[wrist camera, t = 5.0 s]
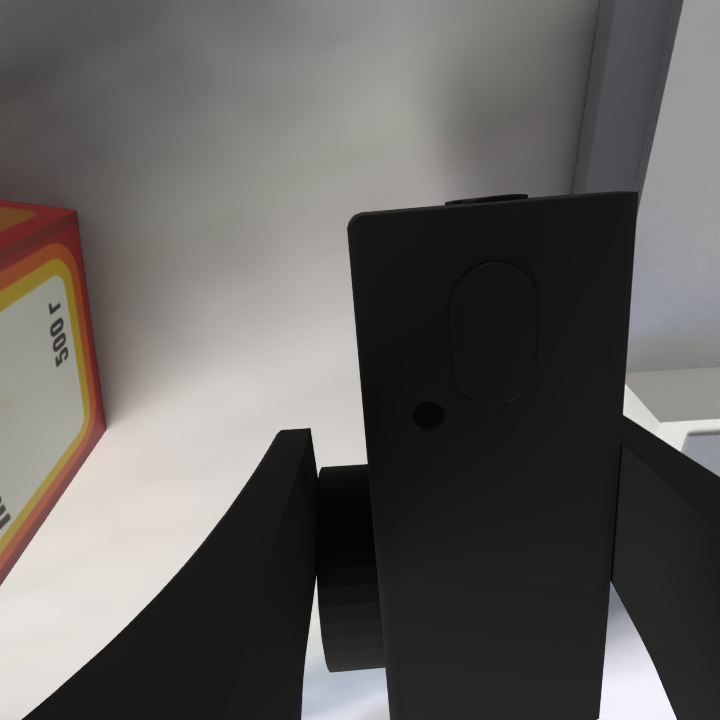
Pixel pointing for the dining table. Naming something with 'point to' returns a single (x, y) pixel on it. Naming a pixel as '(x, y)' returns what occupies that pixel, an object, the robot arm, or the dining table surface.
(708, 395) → the mounted modules
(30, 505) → the baking soda box
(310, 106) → the dining table surface
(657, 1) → the rail panel
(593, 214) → the digital camera
